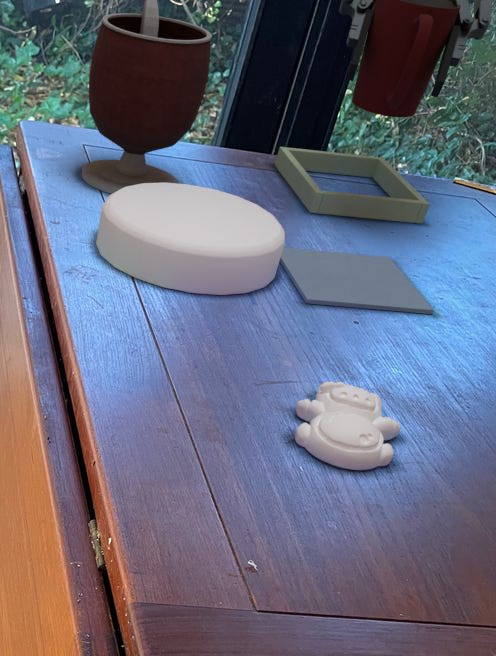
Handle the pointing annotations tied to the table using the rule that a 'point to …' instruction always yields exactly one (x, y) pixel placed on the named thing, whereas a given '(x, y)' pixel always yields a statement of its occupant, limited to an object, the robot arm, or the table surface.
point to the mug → (402, 54)
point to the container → (190, 238)
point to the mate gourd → (144, 91)
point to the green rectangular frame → (397, 208)
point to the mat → (352, 281)
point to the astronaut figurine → (346, 427)
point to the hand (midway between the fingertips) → (394, 80)
